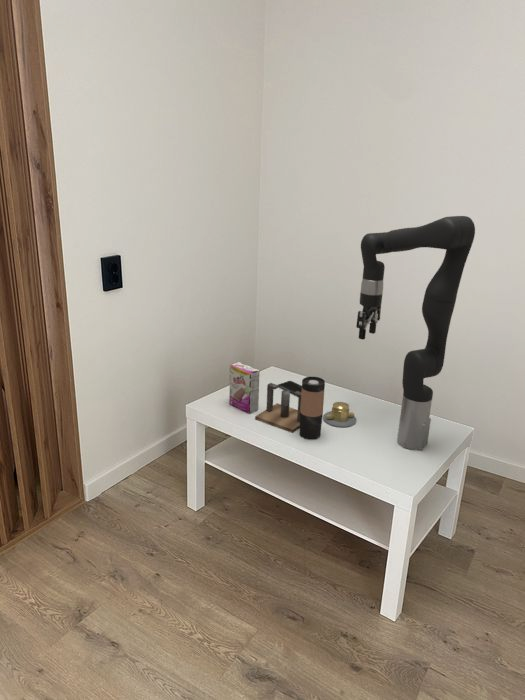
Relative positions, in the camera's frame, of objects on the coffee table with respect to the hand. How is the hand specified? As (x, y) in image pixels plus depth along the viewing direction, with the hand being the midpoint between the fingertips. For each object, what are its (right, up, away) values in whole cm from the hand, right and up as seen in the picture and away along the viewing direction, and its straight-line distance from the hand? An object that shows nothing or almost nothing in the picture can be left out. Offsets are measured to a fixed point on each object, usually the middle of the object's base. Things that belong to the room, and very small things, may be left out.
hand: (367, 336), depth 195 cm
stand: (-29, -30, +4) cm, 42 cm away
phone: (-23, -22, +28) cm, 42 cm away
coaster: (-9, -30, +4) cm, 32 cm away
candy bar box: (-44, -27, +11) cm, 53 cm away
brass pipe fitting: (-9, -30, +4) cm, 31 cm away
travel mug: (-21, -34, -7) cm, 41 cm away
